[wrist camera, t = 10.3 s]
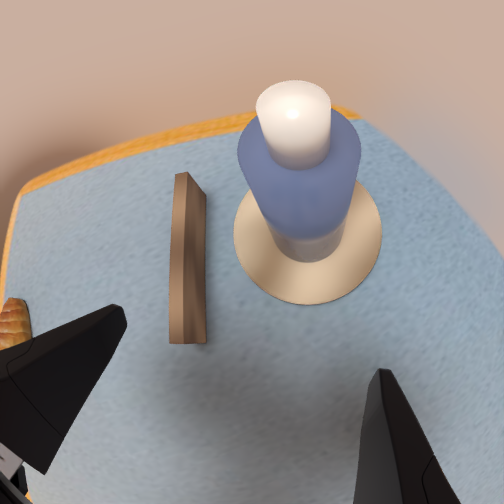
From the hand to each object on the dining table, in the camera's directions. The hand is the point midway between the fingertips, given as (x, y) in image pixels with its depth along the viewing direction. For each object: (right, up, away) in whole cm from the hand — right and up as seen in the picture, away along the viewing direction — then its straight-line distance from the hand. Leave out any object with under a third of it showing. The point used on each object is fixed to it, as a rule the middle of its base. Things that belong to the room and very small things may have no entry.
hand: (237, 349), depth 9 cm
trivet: (+5, +5, +13) cm, 14 cm away
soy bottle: (+4, +5, +12) cm, 14 cm away
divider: (-4, +2, +14) cm, 14 cm away
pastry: (-27, -8, +16) cm, 33 cm away
